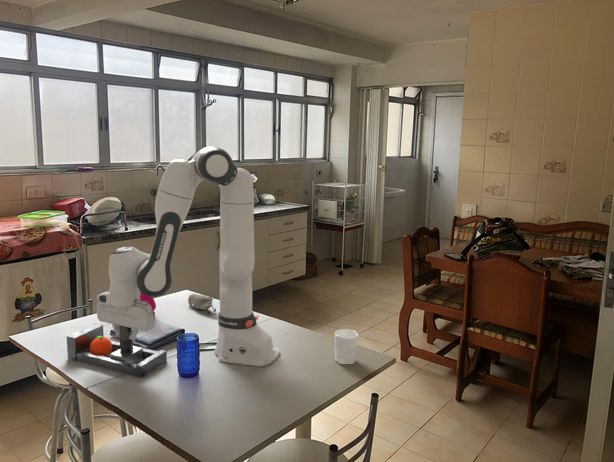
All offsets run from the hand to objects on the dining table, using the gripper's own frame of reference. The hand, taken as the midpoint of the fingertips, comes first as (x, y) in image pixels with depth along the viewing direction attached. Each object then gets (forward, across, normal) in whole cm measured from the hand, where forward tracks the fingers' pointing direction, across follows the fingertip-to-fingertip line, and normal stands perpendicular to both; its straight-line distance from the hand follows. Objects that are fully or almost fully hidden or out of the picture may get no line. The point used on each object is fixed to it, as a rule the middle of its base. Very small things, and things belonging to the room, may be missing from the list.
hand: (126, 338), depth 163 cm
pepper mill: (+9, +21, -36) cm, 42 cm away
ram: (+8, 0, 0) cm, 8 cm away
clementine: (+9, +11, 0) cm, 14 cm away
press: (+9, +4, 0) cm, 10 cm away
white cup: (+9, -64, -33) cm, 73 cm away
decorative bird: (+9, +6, -53) cm, 54 cm away
